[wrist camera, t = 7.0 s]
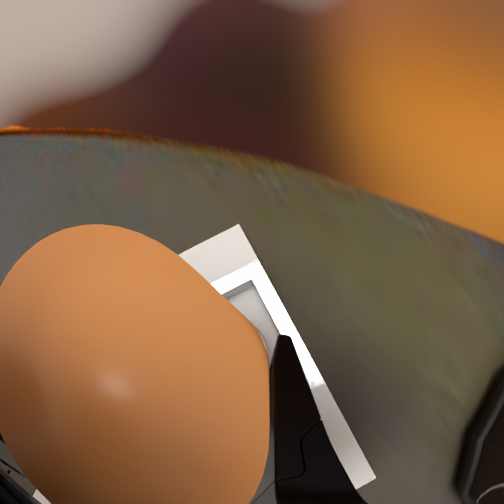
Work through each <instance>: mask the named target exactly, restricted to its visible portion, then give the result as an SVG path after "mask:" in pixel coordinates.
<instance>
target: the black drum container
mask: <svg viewBox="0 0 504 504" xmlns="http://www.w3.org/2000/svg"><path fill="white" fill-rule="evenodd" d="M457 481H458V482H459V484H460V485H459V489H458V494H459V495H460V497H461V499H462V500H463V502H464V503H465V504H504V373H503V374H502V375H501V376H500V377H499V378H498V379H497V380H496V381H495V382H494V384H493V386H492V388H491V390H490V392H489V395H488V397H487V399H486V401H485V403H484V405H483V406H482V408H481V410H480V412H479V414H478V416H477V418H476V419H475V421H474V423H473V425H472V426H471V428H470V430H469V431H468V433H467V439H466V444H465V448H464V453H463V457H462V461H461V465H460V469H459V473H458V476H457Z"/></svg>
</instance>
